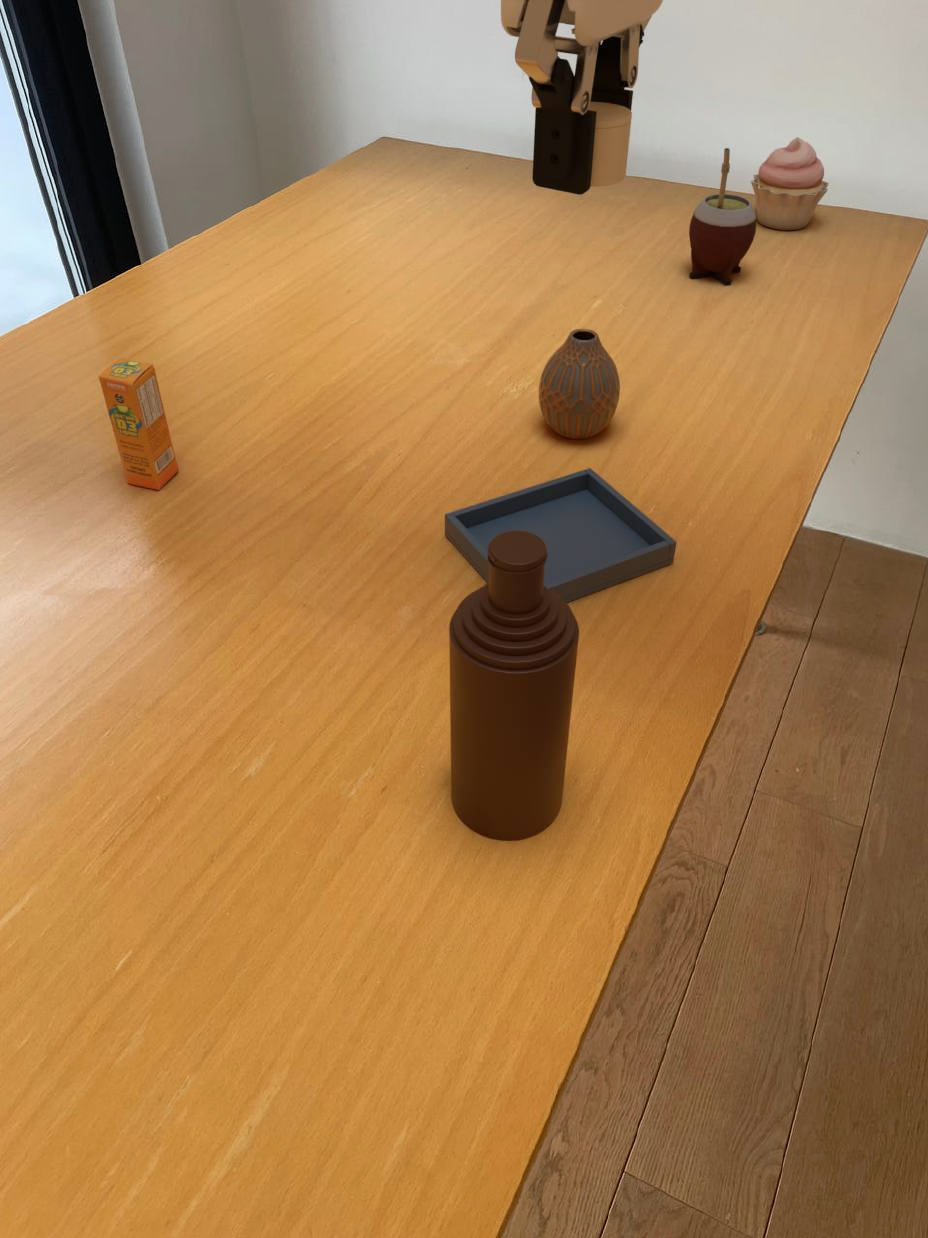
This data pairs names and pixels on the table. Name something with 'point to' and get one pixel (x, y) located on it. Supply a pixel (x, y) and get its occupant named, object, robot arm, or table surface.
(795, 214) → the cupcake
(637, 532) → the tray
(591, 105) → the cap
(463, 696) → the bottle
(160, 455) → the supplement box
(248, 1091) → the table surface
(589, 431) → the vase
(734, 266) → the mate gourd
